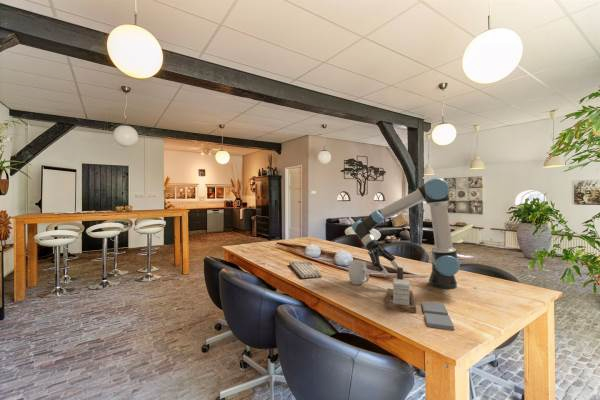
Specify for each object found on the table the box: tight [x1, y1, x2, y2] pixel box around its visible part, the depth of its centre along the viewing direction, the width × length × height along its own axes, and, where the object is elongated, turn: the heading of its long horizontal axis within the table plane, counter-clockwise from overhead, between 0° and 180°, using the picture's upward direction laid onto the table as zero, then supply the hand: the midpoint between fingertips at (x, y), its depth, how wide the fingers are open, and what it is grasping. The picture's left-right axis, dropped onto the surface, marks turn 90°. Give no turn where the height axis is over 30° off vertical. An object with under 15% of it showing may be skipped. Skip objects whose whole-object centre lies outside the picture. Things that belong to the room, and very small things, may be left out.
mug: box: [347, 259, 370, 286], centre depth 168 cm, size 15×11×13 cm
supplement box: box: [392, 278, 410, 305], centre depth 134 cm, size 7×7×13 cm
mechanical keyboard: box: [287, 260, 323, 280], centre depth 198 cm, size 38×19×3 cm, turn 16°
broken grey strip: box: [421, 300, 455, 331], centre depth 125 cm, size 10×24×2 cm, turn 161°
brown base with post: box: [386, 266, 417, 314], centre depth 142 cm, size 13×26×14 cm, turn 161°
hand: (393, 272), depth 153 cm, fingers open, 13 cm apart
